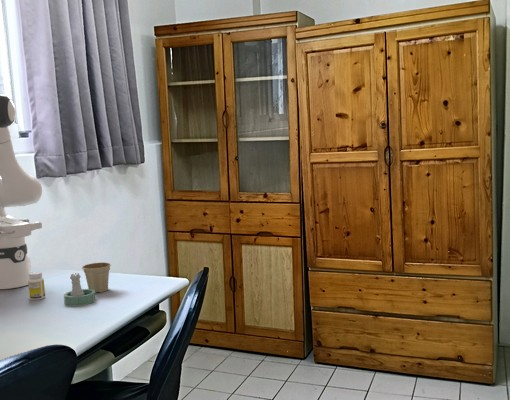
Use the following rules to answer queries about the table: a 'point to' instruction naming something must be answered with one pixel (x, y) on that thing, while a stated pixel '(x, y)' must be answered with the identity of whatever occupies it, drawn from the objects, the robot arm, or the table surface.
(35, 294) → the supplement bottle
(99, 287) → the flower pot
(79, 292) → the rook chess piece
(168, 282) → the table surface
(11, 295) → the table surface
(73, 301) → the bowl
